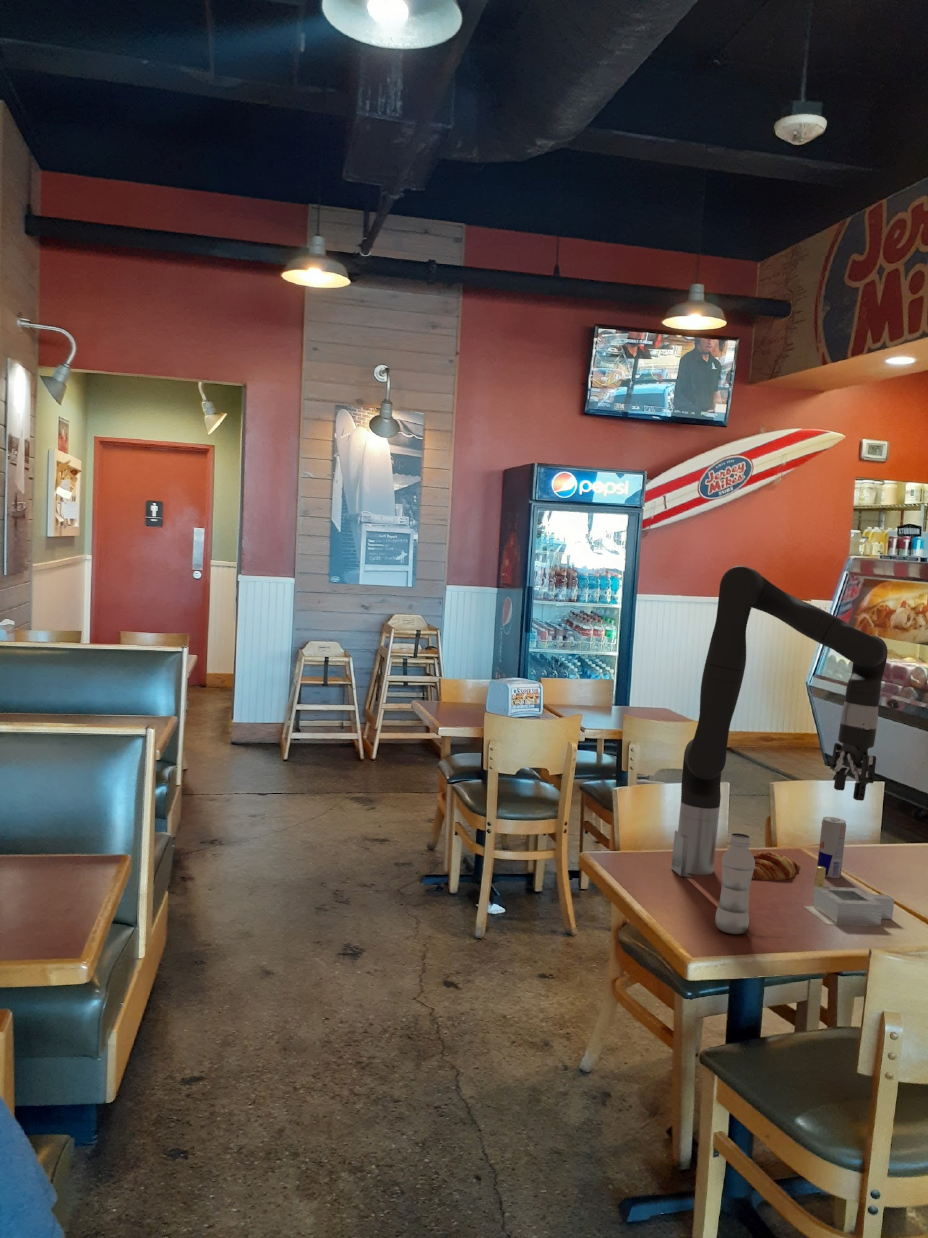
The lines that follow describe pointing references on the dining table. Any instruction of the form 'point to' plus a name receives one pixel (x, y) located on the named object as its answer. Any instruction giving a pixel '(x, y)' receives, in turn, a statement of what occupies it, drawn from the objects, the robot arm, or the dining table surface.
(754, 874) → the croissant
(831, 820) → the beverage can
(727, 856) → the plastic bottle
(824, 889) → the grey frame with handle
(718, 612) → the robot arm
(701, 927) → the dining table surface
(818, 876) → the post
